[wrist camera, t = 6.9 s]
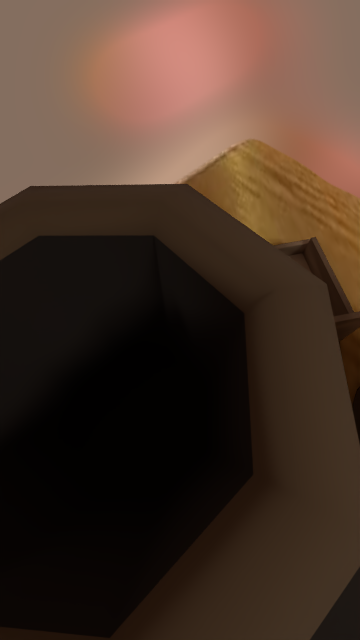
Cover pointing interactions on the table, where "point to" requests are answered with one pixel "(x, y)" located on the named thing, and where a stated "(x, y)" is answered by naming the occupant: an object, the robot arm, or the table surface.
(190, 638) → the beer bottle
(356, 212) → the table surface
